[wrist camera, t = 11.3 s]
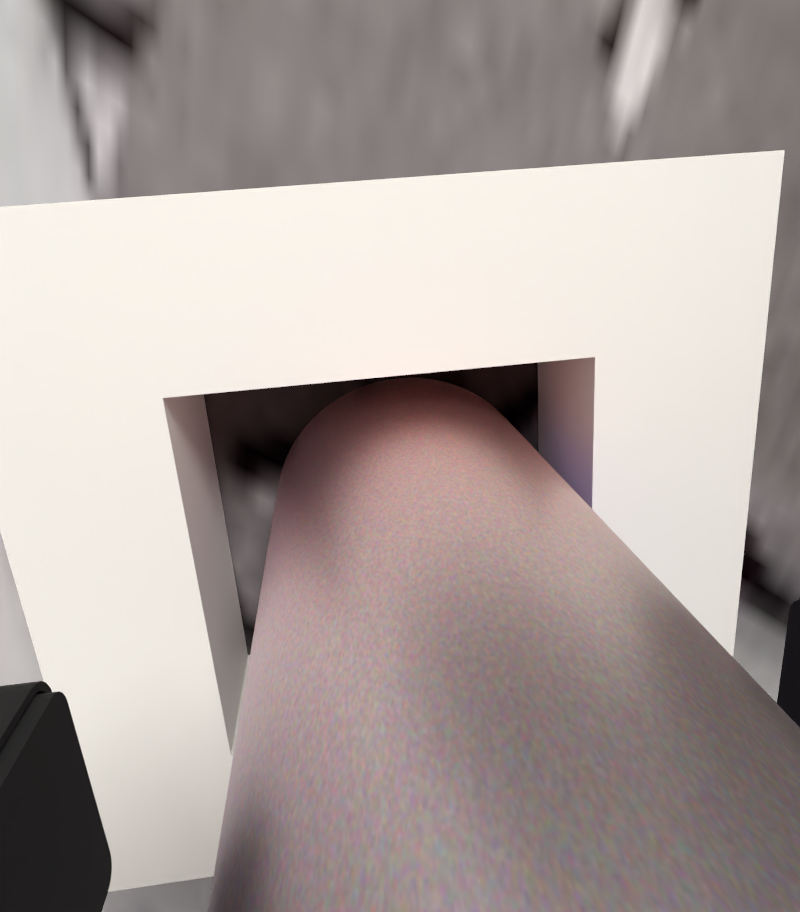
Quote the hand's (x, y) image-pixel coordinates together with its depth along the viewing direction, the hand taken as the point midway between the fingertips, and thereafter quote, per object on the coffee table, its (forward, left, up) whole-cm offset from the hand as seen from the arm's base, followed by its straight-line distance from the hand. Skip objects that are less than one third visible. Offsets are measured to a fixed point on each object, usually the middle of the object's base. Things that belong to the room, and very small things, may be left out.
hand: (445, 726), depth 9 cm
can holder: (0, 0, -8) cm, 8 cm away
